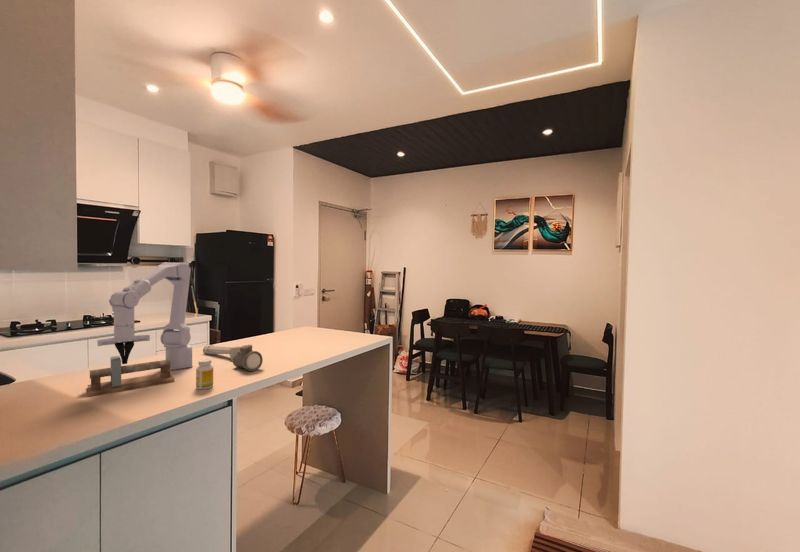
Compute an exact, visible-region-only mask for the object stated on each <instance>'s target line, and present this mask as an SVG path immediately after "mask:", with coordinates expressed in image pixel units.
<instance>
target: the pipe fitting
mask: <svg viewBox="0 0 800 552" xmlns="http://www.w3.org/2000/svg"><path fill="white" fill-rule="evenodd" d="M239 350H240V351H238V352H237V354H236V355H235V356H234V358H233V361H232V364H233V366H234V367H236V368H241V369H242V368H243V369H245V370H246V371H248V372H257V371H258V370H259V369H260V368H261V367H262V364H263V356H262V354H261V353H260V352H259V351H257V350H256V351H255V350H253V345H252V344H246V345H242V346H240V347H239Z"/></svg>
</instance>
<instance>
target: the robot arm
mask: <svg viewBox="0 0 800 552" xmlns="http://www.w3.org/2000/svg"><path fill="white" fill-rule="evenodd" d="M191 271H192V269H191V267H190V266H189V265H188V263H187V262H167V261H165V262H164V261H163V262H161V263H160V264H159V265H157V268H156V269H155V270H153V272H151V273H150V274H148V276H146V277H145V278H143V279H142V278H139V279H138V278H137V279H134V280H133V282H132V283H131V284H130V285H127V286H125V287H124V288H123V289H121V291H120V290H118V291H115V292H113V294H111V296H110V299H109V300H108V303H109V305H110V306H111V309H112V312H113V337H109V338H102V339H101V338H100V339H97V340H96V341H97V347H102V346H109V345H114V346H115V348H116V350H117V351H118V354H119V357H120V359H121V365H128V361H129V356H130V354H131V352H132V350H133V348H134V346H135V343H138V342H139V343H140V342H150V340H151V339H150V334H145V335H144V334H142V335H135V307H137V306H138V305H139V302H140V300H141V299H142V298H143V297H144V296H146V295H147V294H148V293H150V292H151V291H152V286H154V285H156V284H157V283H159V282H160V281H162V280H164V279H165V280H167V281H169V283H171V284H172V285H173V292H172V298H171V299H172V301H171V308H170V317H169V323H167V324H166V325H165V326H164V327H163V329H162V332H161V334H160V342H161V344H162V345H163V348H165V360H169V359H170V362H171V366H170V371H173V370H180V369H187V368H192V367H193V347H192V345H191V344H190V341H191V337H192V336H191V332H190V331H191V328H190V326H188V325H187V324H186V323H185V321H186V314H187V305H188V298H189V297H188V296H189V288H190V281H191V280H190V278H191V273H192V272H191Z"/></svg>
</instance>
